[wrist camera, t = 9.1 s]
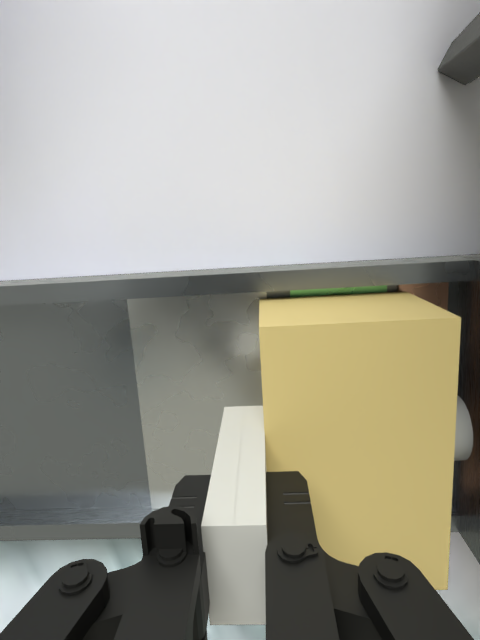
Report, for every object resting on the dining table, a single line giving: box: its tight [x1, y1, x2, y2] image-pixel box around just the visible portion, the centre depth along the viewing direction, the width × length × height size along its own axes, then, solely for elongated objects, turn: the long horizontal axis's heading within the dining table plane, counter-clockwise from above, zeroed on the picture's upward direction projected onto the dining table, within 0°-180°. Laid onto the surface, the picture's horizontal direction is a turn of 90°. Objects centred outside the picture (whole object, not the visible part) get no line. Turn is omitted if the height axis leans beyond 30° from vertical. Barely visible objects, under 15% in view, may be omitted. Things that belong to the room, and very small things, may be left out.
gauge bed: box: [0, 254, 480, 541], centre depth 20 cm, size 27×12×2 cm, turn 93°
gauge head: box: [259, 291, 473, 590], centre depth 17 cm, size 7×12×5 cm, turn 3°
